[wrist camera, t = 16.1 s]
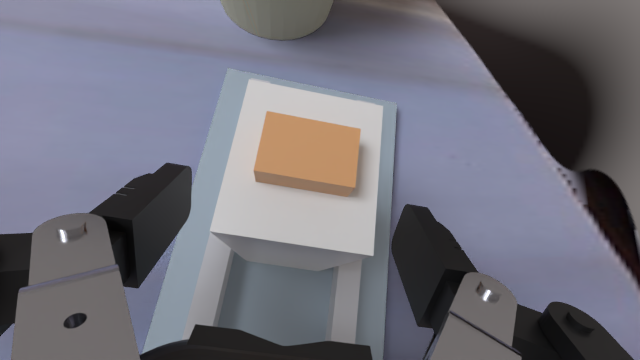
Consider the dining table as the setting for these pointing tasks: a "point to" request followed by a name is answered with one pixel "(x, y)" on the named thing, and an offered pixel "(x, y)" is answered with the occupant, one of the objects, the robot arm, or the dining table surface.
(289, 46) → the dining table surface
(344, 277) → the mounting board
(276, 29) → the reusable coffee cup
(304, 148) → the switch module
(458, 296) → the robot arm
